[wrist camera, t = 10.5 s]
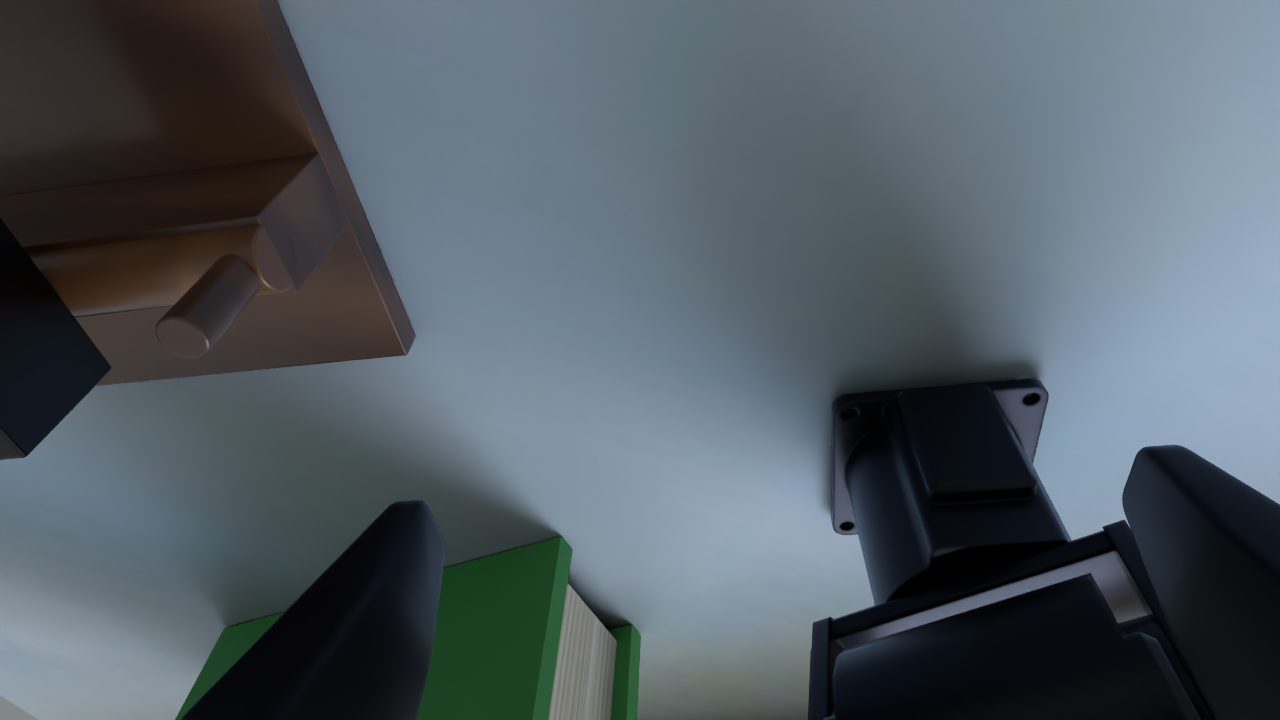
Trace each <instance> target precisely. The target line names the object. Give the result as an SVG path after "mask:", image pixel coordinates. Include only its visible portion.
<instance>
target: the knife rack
mask: <svg viewBox="0 0 1280 720" xmlns="http://www.w3.org/2000/svg"><path fill="white" fill-rule="evenodd" d="M0 218H1V219H2V220H3V222H4V223H5V224H6V226H7V227H8V228H9V230H10V231H11V232H12V234H13V235H14V236H15V238H16V239H17V240H18V242H19V243H20V245H21V246H22V247H23V249H24V250H25V251H26V253H27V254H28V255H29V257H30V258H31V259H32V261H33V262H34V263H35V265H36V266H37V267H38V269H39V270H40V271H41V273H42V274H43V275H44V277H45V278H46V279H47V281H48V282H49V283H50V285H51V286H52V288H53V289H54V290H55V292H56V293H57V294H58V296H59V297H60V298H61V300H62V301H63V302H64V304H65V305H66V306H67V308H68V309H69V310H70V312H71V313H72V314H73V316H74V317H75V318H76V320H77V321H78V322H79V324H80V325H81V326H82V328H83V329H84V331H85V332H86V333H87V335H88V336H89V337H90V339H91V340H92V341H93V343H94V344H95V345H96V347H97V348H98V349H99V351H100V352H101V353H102V355H103V356H104V357H105V359H106V360H107V361H108V363H109V364H110V365H111V370H110V371H109V372H108V373H107V374H106V375H105V376H104V377H103V378H102V379H101V380H100V381H99V382H98V383H97V384H96V385H95V386H99V385H110V384H120V383H130V382H140V381H150V380H160V379H170V378H180V377H190V376H200V375H210V374H220V373H230V372H241V371H251V370H261V369H271V368H281V367H291V366H301V365H311V364H321V363H331V362H341V361H351V360H362V359H372V358H382V357H392V356H402V355H407V354H408V352H409V350H410V348H411V345H412V343H413V341H414V339H415V333H414V331H413V329H412V326H411V324H410V321H409V319H408V317H407V314H406V312H405V309H404V307H403V304H402V302H401V300H400V297H399V295H398V292H397V290H396V288H395V285H394V283H393V280H392V278H391V275H390V273H389V271H388V268H387V266H386V263H385V261H384V259H383V256H382V254H381V251H380V249H379V246H378V244H377V242H376V239H375V237H374V234H373V232H372V230H371V227H370V225H369V222H368V220H367V218H366V215H365V213H364V210H363V208H362V205H361V203H360V201H359V198H358V196H357V193H356V191H355V189H354V186H353V184H352V181H351V179H350V176H349V174H348V172H347V169H346V167H345V164H344V162H343V160H342V157H341V155H340V152H339V150H338V147H337V145H336V143H335V140H334V138H333V135H332V133H331V131H330V128H329V126H328V123H327V121H326V118H325V116H324V114H323V111H322V109H321V106H320V104H319V102H318V99H317V97H316V94H315V92H314V89H313V87H312V85H311V82H310V80H309V77H308V75H307V73H306V70H305V68H304V65H303V63H302V61H301V58H300V56H299V53H298V51H297V48H296V46H295V44H294V41H293V39H292V36H291V34H290V32H289V29H288V27H287V24H286V22H285V19H284V17H283V15H282V12H281V10H280V7H279V5H278V3H277V0H0Z"/></svg>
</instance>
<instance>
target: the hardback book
mask: <svg viewBox="0 0 1280 720" xmlns="http://www.w3.org/2000/svg"><path fill="white" fill-rule="evenodd" d="M571 555H572V549H571V548H570V547H569V545H568V544H567V543H566V541H565V540H564V539H563V538H562V536H559V537H556V538H552V539H548V540H545V541H541V542H538V543H534V544H530V545H527V546H523V547H519V548H516V549H512V550H508V551H505V552H501V553H497V554H494V555H490V556H487V557H483V558H479V559H476V560H472V561H468V562H465V563H461V564H457V565H454V566H450V567H446V568H443V575H442V583H441V590H440V598H439V606H438V613H437V621H436V628H435V636H434V644H433V650H432V656H431V662H430V667H429V671H428V676H427V680H426V684H425V688H424V692H423V697H422V701H421V705H420V709H419V713H418V717H417V720H637V706H638V684H639V662H640V640H641V636H640V634H639V633H638V632H637V631H636V629H635V628H634V627H633V626H632V625H628V626H624V627H619V628H615V629H611V630H607V629H606V628H605V627H604V625H603V624H602V623H601V622H600V621H599V619H598V618H597V617H596V616H595V615H594V613H593V612H592V611H591V610H590V609H589V607H588V606H587V605H586V604H585V603H584V601H583V600H582V599H581V598H580V597H579V595H578V594H577V593H576V592H575V591H574V589H573V588H572V587H571V586H570V585H569V584H568V577H569V570H570V563H571ZM283 613H284V612H283ZM283 613H279V614H275V615H272V616H268V617H264V618H261V619H257V620H253V621H250V622H246V623H242V624H239V625H235V626H232V627H228V628H224V630H223V632H222V634H221V635H220V637H219V639H218V641H217V643H216V645H215V647H214V648H213V650H212V652H211V654H210V656H209V658H208V660H207V661H206V663H205V665H204V667H203V669H202V671H201V673H200V674H199V676H198V678H197V680H196V682H195V684H194V686H193V687H192V689H191V691H190V693H189V695H188V697H187V699H186V700H185V702H184V704H183V706H182V708H181V710H180V712H179V713H178V715H177V717H176V719H175V720H181V718H182V716H183V715H184V714H185V713H186V712H187V711H188V710H189V709H190V708H191V707H192V706H193V705H194V704H195V703H196V702H197V701H198V700H199V699H200V698H201V697H202V696H203V695H204V694H205V693H206V692H207V691H208V690H209V689H210V688H211V687H212V686H213V685H214V684H215V683H216V682H217V681H218V680H219V679H220V678H221V677H222V676H223V675H224V674H225V673H226V672H227V670H228V669H229V668H230V667H231V666H232V665H233V664H234V663H235V662H236V661H237V660H238V659H239V658H240V657H241V656H242V655H243V654H244V653H245V652H246V651H247V650H248V649H249V648H250V647H251V646H252V645H253V644H254V643H255V642H256V641H257V640H258V639H259V638H260V637H261V636H262V635H263V634H264V633H265V632H266V631H267V630H268V629H269V628H270V627H271V626H272V625H273V624H274V623H275V622H276V621H277V620H278V619H279V618H280V617H281V616H282V615H283Z"/></svg>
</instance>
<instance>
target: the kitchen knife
mask: <svg viewBox="0 0 1280 720" xmlns="http://www.w3.org/2000/svg"><path fill="white" fill-rule="evenodd" d="M110 370H111V365H110V364H109V363H108V361H107V360H106V359H105V357H104V356H103V355H102V353H101V352H100V351H99V349H98V348H97V347H96V345H95V344H94V343H93V341H92V340H91V339H90V337H89V336H88V335H87V333H86V332H85V331H84V329H83V328H82V326H81V325H80V324H79V322H78V321H77V320H76V318H75V317H74V316H73V314H72V313H71V312H70V310H69V309H68V308H67V306H66V305H65V304H64V302H63V301H62V300H61V298H60V297H59V296H58V294H57V293H56V292H55V290H54V289H53V288H52V286H51V285H50V283H49V282H48V281H47V279H46V278H45V277H44V275H43V274H42V273H41V271H40V270H39V269H38V267H37V266H36V265H35V263H34V262H33V261H32V259H31V258H30V257H29V255H28V254H27V253H26V251H25V250H24V249H23V247H22V246H21V245H20V243H19V242H18V240H17V239H16V238H15V236H14V235H13V234H12V232H11V231H10V230H9V228H8V227H7V226H6V224H5V223H4V222H3V220H2V219H1V218H0V460H3V459H15V458H24V457H26V456H28V455H29V453H30V452H31V451H32V450H33V449H34V448H35V447H36V446H37V445H38V444H39V443H40V442H41V441H42V440H43V439H44V438H45V437H46V436H47V435H48V434H49V433H50V432H51V431H52V430H53V429H54V428H55V427H56V426H57V425H58V424H59V423H60V422H61V421H62V419H63V418H64V417H65V416H66V415H67V414H68V413H69V412H70V411H71V410H72V409H73V408H74V407H75V406H76V405H77V404H78V403H79V402H80V401H81V400H82V399H83V398H84V397H85V396H86V395H87V394H88V393H89V392H90V391H91V390H92V389H93V388H94V387H95V385H96V384H97V383H98V382H99V381H100V380H101V379H102V378H103V377H104V376H105V375H106V374H107V373H108V372H109V371H110Z"/></svg>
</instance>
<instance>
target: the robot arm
mask: <svg viewBox="0 0 1280 720" xmlns="http://www.w3.org/2000/svg"><path fill="white" fill-rule="evenodd" d="M1031 393H1033V394H1032V395H1031V396H1028V397H1025V396H1026V395H1028V394H1031ZM1047 402H1048V392H1047V390H1046V389H1045V387H1044V385H1043V384H1042V383H1041V381H1039V380H1036V379H1020V380H1008V381H997V382H985V383H973V384H962V385H950V386H938V387H927V388H915V389H903V390H891V391H880V392H868V393H856V394H847V395H842V396H840V397H838V398H837V399H836V400H835V401H834V402H833V405H832V466H831V520H832V525H833V529H834V531H835V532H836V533H838V534H841V535H854V534H858V535H859V539H860V544H861V548H862V552H863V556H864V561H865V565H866V569H867V573H868V578H869V582H870V586H871V590H872V594H873V599H874V603H875V606H872V607H869V608H866V609H863V610H860V611H857V612H854V613H851V614H848V615H845V616H842V617H839V618H836V619H833V618H831V617H829V618H826V619H823V620H820V621H817V622H814V623H813V632H812V648H811V658H810V683H809V707H808V720H1280V504H1278V503H1276V502H1275V501H1273V500H1271V499H1270V498H1268V497H1266V496H1265V495H1263V494H1261V493H1260V492H1258V491H1256V490H1255V489H1253V488H1251V487H1250V486H1248V485H1246V484H1245V483H1243V482H1242V481H1240V480H1238V479H1237V478H1235V477H1233V476H1232V475H1230V474H1228V473H1227V472H1225V471H1223V470H1222V469H1220V468H1218V467H1217V466H1215V465H1213V464H1212V463H1210V462H1209V461H1207V460H1205V459H1204V458H1202V457H1200V456H1199V455H1197V454H1195V453H1194V452H1192V451H1190V450H1189V449H1187V448H1185V447H1182V446H1179V445H1164V446H1150V447H1144V448H1142V449H1141V450H1140V451H1139V452H1138V453H1137V455H1136V457H1135V460H1134V463H1133V466H1132V468H1131V471H1130V474H1129V477H1128V480H1127V482H1126V485H1125V488H1124V491H1123V498H1122V500H1123V508H1124V512H1125V515H1126V517H1127V520H1128V523H1129V525H1130V527H1129V526H1128V524H1127V523H1126V521H1125V520H1122V521H1119V522H1116V523H1113V524H1110V525H1107V526H1104V527H1103V529H1104V530H1103V531H1100V532H1097V533H1094V534H1091V535H1088V536H1085V537H1082V538H1079V539H1076V540H1073V541H1072V540H1071V538H1070V536H1069V535H1068V533H1067V531H1066V529H1065V527H1064V525H1063V523H1062V521H1061V519H1060V517H1059V515H1058V513H1057V511H1056V509H1055V507H1054V505H1053V503H1052V502H1051V500H1050V498H1049V496H1048V494H1047V492H1046V490H1045V488H1044V486H1043V484H1042V482H1041V480H1040V478H1039V476H1038V474H1037V472H1036V470H1035V469H1034V467H1033V461H1034V456H1035V452H1036V448H1037V444H1038V440H1039V435H1040V431H1041V427H1042V423H1043V419H1044V414H1045V410H1046V406H1047ZM849 408H853V410H852V411H849V412H844V410H846V409H849ZM847 521H848V522H847ZM1130 528H1131V529H1130ZM444 560H445V542H444V539H443V536H442V534H441V532H440V530H439V527H438V525H437V523H436V521H435V519H434V517H433V515H432V513H431V511H430V509H429V507H428V505H427V504H426V503H425V502H424V501H422V500H411V501H398V502H395V503H393V504H391V505H390V506H389V507H388V508H387V509H386V510H385V511H384V512H383V513H382V514H381V515H380V516H379V517H378V518H377V519H376V520H375V521H374V522H373V523H372V524H371V525H370V526H369V527H368V528H367V529H366V530H365V531H364V532H363V533H362V534H361V535H360V536H359V537H358V538H357V539H356V540H355V541H354V542H353V543H352V544H351V545H350V546H349V547H348V548H347V549H346V550H345V551H344V552H343V553H342V554H341V555H340V556H339V558H338V559H337V560H336V561H335V562H334V563H333V564H332V565H331V566H330V567H329V568H328V569H327V570H326V571H325V572H324V573H323V574H322V575H321V576H320V577H319V578H318V579H317V580H316V581H315V582H314V583H313V584H312V585H311V586H310V587H309V588H308V589H307V590H306V591H305V592H304V593H303V594H302V595H301V596H300V597H299V598H298V599H297V600H296V601H295V602H294V603H293V604H292V605H291V606H290V607H289V608H288V609H287V610H286V611H285V612H284V613H283V615H282V616H281V617H280V618H279V619H278V620H277V621H276V622H275V623H274V624H273V625H272V626H271V627H270V628H269V629H268V630H267V631H266V632H265V633H264V634H263V635H262V636H261V637H260V638H259V639H258V640H257V641H256V642H255V643H254V644H253V645H252V646H251V647H250V648H249V649H248V650H247V651H246V652H245V653H244V654H243V655H242V656H241V657H240V658H239V659H238V660H237V661H236V662H235V663H234V664H233V665H232V666H231V667H230V668H229V669H228V670H227V672H226V673H225V674H224V675H223V676H222V677H221V678H220V679H219V680H218V681H217V682H216V683H215V684H214V685H213V686H212V687H211V688H210V689H209V690H208V691H207V692H206V693H205V694H204V695H203V696H202V697H201V698H200V699H199V700H198V701H197V702H196V703H195V704H194V705H193V706H192V707H191V708H190V709H189V710H188V711H187V712H186V713H185V714H184V715H183V716H182V718H181V720H417V717H418V713H419V709H420V705H421V701H422V697H423V692H424V688H425V684H426V680H427V676H428V671H429V667H430V662H431V656H432V650H433V644H434V636H435V628H436V621H437V613H438V606H439V598H440V590H441V583H442V575H443V568H444Z"/></svg>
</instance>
